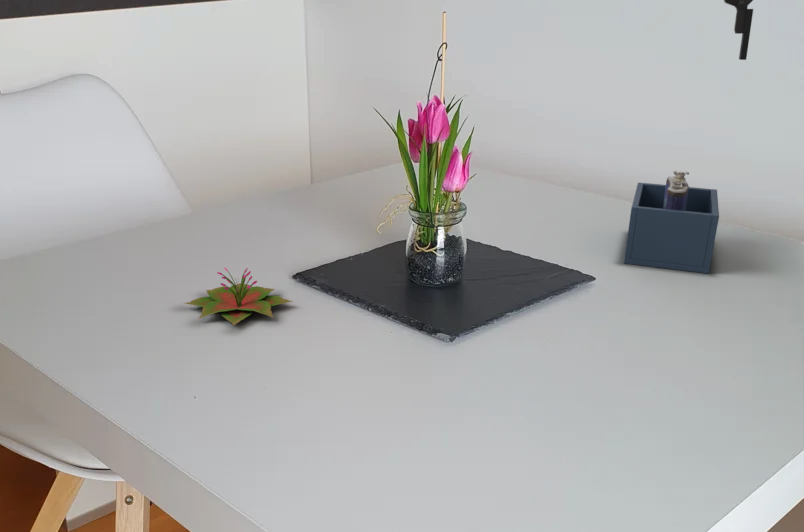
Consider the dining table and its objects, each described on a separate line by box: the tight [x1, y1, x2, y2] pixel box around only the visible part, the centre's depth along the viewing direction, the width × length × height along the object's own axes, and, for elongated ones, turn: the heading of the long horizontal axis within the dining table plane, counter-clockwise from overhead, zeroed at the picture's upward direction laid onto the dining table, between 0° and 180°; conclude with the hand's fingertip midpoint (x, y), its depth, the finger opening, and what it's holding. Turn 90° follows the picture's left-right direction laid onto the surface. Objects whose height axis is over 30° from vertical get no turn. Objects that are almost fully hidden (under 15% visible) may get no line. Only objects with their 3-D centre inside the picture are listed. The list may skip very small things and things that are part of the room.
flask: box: [663, 170, 690, 211], centre depth 114 cm, size 9×3×11 cm, turn 161°
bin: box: [623, 182, 720, 274], centre depth 114 cm, size 11×14×8 cm
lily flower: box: [183, 267, 294, 326], centre depth 96 cm, size 12×12×5 cm
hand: (797, 60), depth 112 cm, fingers open, 13 cm apart
